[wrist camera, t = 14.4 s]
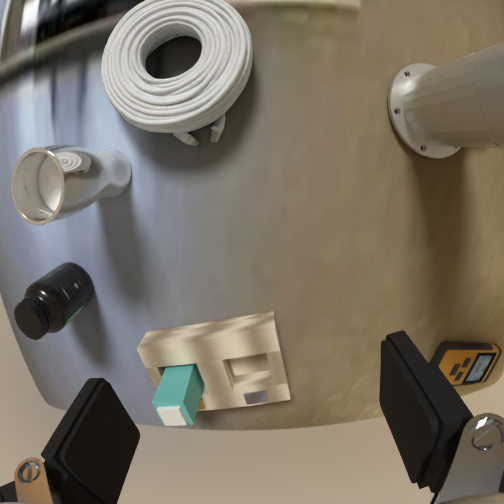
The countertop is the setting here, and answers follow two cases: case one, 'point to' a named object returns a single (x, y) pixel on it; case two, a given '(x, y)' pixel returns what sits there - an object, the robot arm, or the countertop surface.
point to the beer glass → (66, 181)
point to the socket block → (224, 359)
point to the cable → (187, 84)
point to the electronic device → (466, 361)
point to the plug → (178, 395)
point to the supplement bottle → (53, 300)
